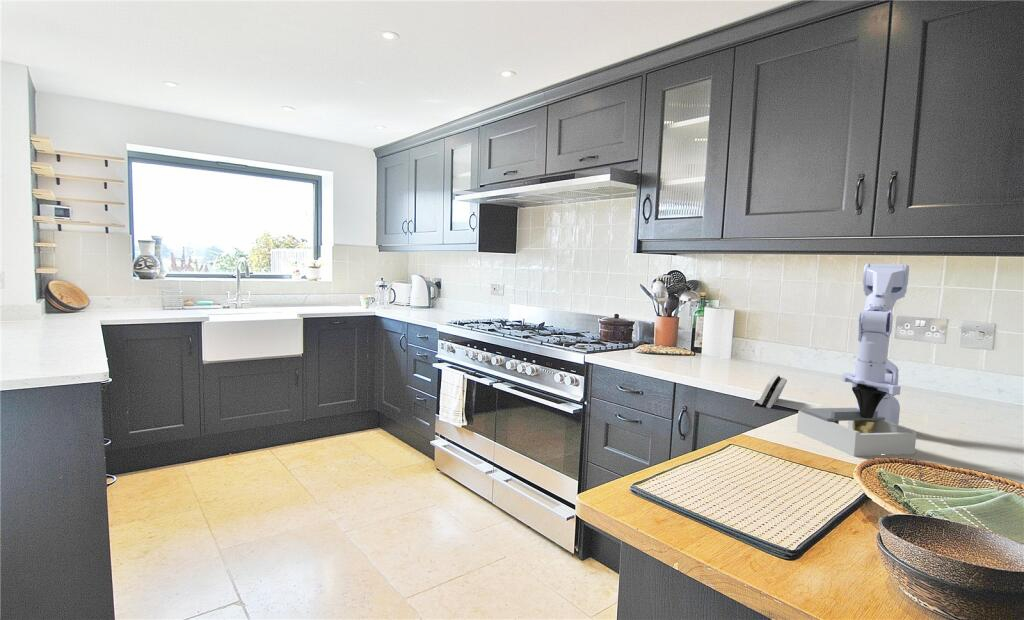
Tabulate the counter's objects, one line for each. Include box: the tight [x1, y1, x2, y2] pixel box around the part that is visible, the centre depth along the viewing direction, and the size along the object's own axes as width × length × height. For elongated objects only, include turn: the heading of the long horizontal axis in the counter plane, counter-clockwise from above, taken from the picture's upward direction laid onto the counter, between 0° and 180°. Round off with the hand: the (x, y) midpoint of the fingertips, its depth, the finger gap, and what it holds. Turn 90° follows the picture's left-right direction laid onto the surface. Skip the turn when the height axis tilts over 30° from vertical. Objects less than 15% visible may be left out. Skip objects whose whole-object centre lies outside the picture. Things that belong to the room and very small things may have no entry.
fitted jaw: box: [853, 420, 875, 433], centre depth 132 cm, size 4×4×5 cm
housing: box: [796, 410, 917, 457], centre depth 129 cm, size 16×18×6 cm
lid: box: [799, 407, 885, 422], centre depth 133 cm, size 16×9×2 cm, turn 101°
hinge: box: [752, 374, 788, 409], centre depth 168 cm, size 17×5×10 cm, turn 146°
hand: (866, 417), depth 128 cm, fingers closed
